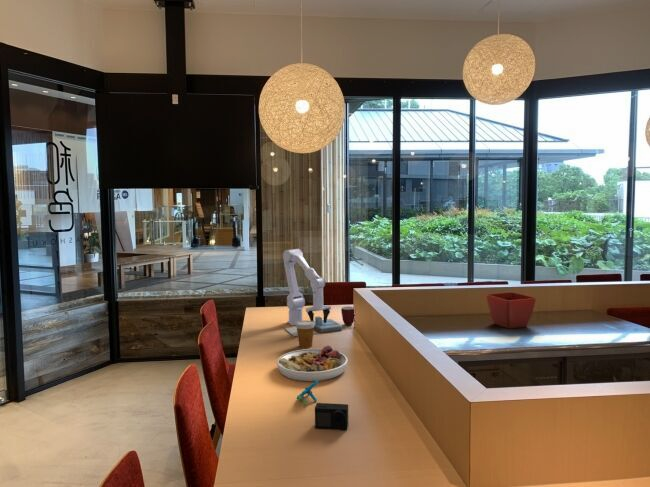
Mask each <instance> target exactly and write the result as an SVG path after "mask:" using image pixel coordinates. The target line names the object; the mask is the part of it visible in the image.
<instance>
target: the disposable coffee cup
mask: <svg viewBox="0 0 650 487" xmlns="http://www.w3.org/2000/svg"><path fill="white" fill-rule="evenodd" d="M314 326H315V324H314V322H313V321H310V320H303V321H298V322H297V323H296V325H295V327H296V328H297V333H298V336H297V339H298V340H297V341H298V344H299V348H301V349H310V348H312V347H313V338H314V334H313V331H315V330H314V329H315V328H314Z"/></svg>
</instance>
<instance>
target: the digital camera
mask: <svg viewBox="0 0 650 487" xmlns="http://www.w3.org/2000/svg"><path fill="white" fill-rule="evenodd" d="M348 428H349V404H346V403H328V402H327V403H326V402H325V403H324V402H316V403H315V407H314V429H315V430H330V431H331V430H332V431H348Z"/></svg>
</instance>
